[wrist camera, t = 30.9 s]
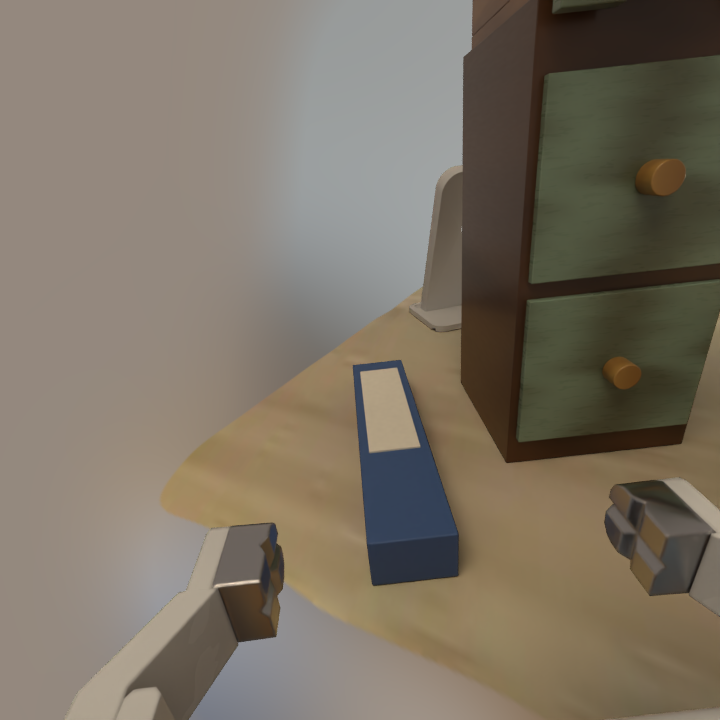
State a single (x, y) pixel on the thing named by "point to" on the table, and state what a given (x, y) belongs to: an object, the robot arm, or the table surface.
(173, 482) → the table surface
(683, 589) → the robot arm
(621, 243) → the drawer stand
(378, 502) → the case
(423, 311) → the phone holder
